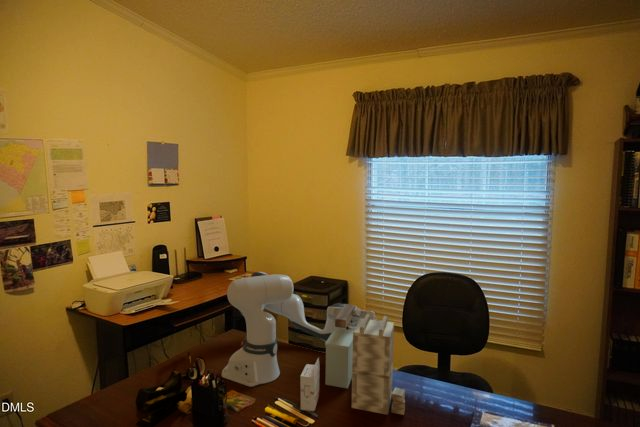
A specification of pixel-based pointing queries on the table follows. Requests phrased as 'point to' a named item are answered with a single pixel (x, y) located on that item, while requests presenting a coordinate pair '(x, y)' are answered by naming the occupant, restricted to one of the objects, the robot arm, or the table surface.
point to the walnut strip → (344, 316)
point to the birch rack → (372, 365)
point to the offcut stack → (398, 401)
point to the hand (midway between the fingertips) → (347, 310)
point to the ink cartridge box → (310, 386)
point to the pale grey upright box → (339, 358)
